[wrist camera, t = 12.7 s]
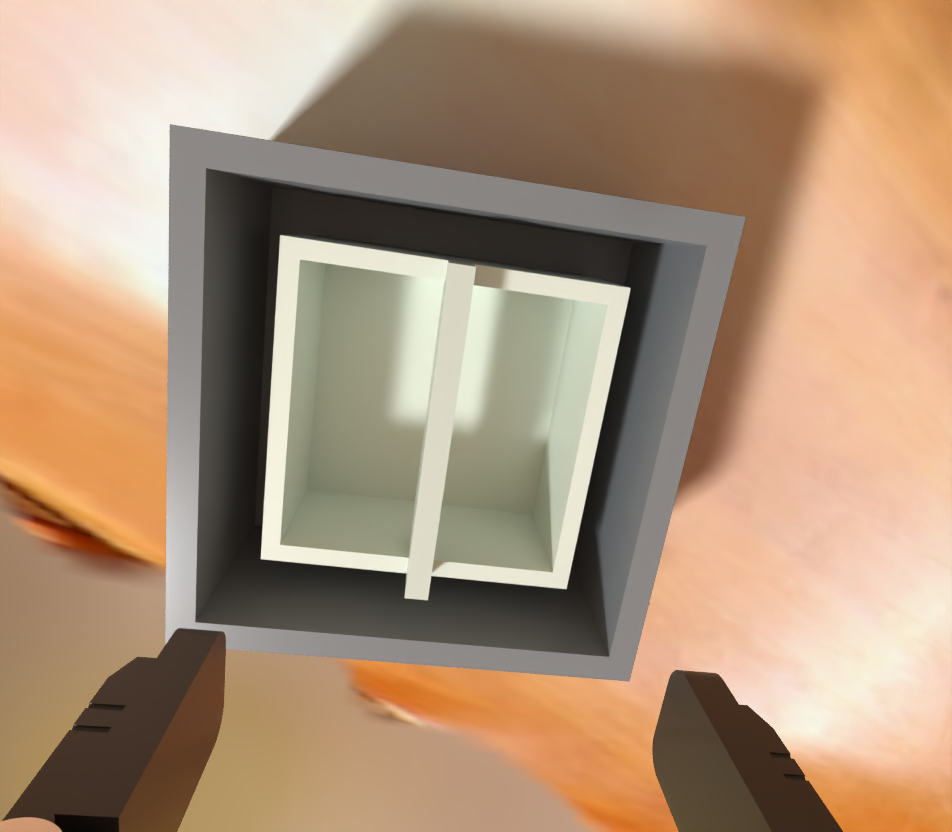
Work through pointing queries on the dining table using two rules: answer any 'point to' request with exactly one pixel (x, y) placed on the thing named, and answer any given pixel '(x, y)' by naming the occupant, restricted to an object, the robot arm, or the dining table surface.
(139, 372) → the dining table surface
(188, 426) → the big crate
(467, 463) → the small crate
